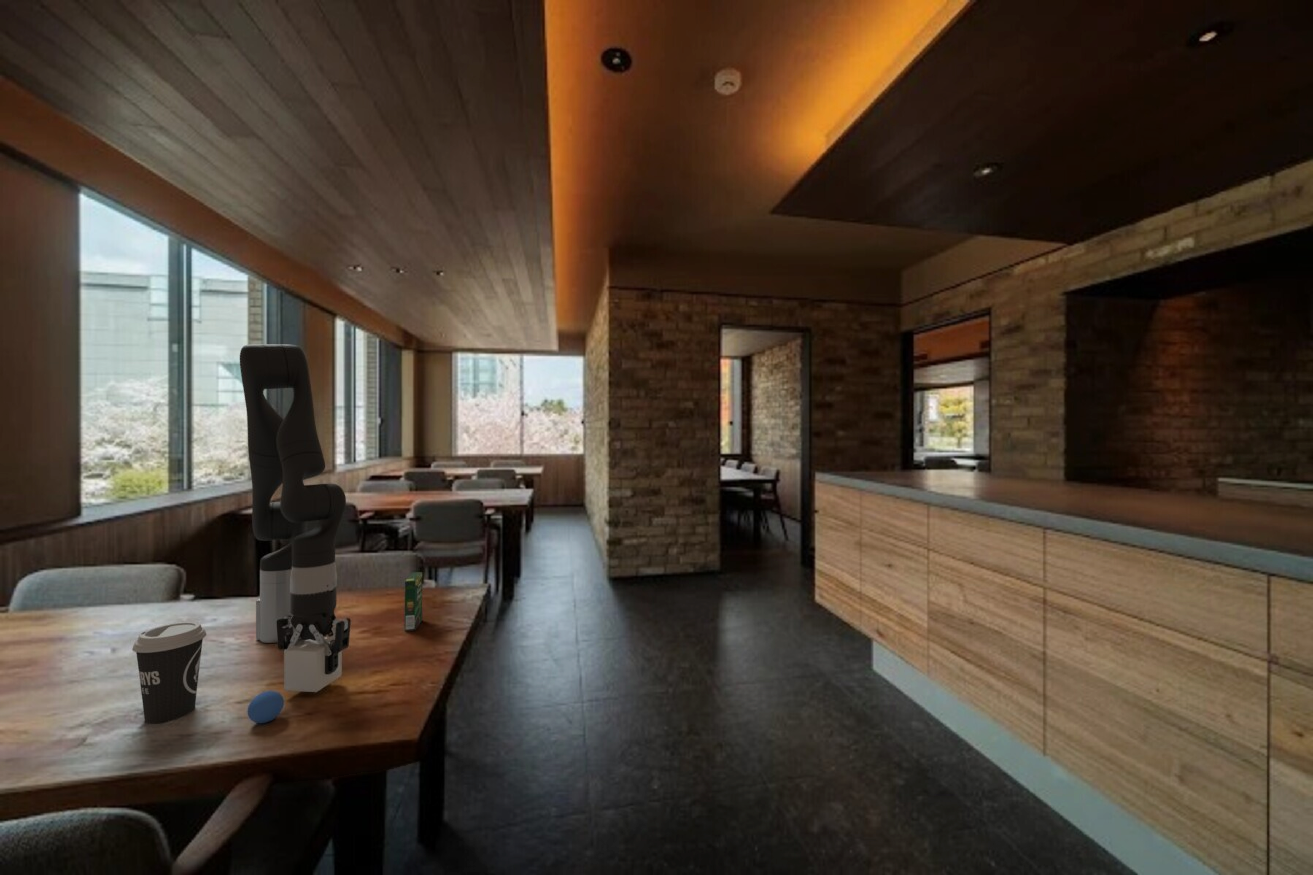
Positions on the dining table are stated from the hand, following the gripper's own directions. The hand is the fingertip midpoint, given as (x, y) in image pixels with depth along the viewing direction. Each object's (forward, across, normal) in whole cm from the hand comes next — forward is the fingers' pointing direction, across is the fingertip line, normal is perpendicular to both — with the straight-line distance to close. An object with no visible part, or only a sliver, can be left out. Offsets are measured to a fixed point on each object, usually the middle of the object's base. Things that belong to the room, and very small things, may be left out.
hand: (313, 671), depth 99 cm
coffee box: (+4, 0, +34) cm, 34 cm away
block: (+2, 0, 0) cm, 2 cm away
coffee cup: (+4, -19, -10) cm, 22 cm away
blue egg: (+1, 0, -11) cm, 11 cm away
